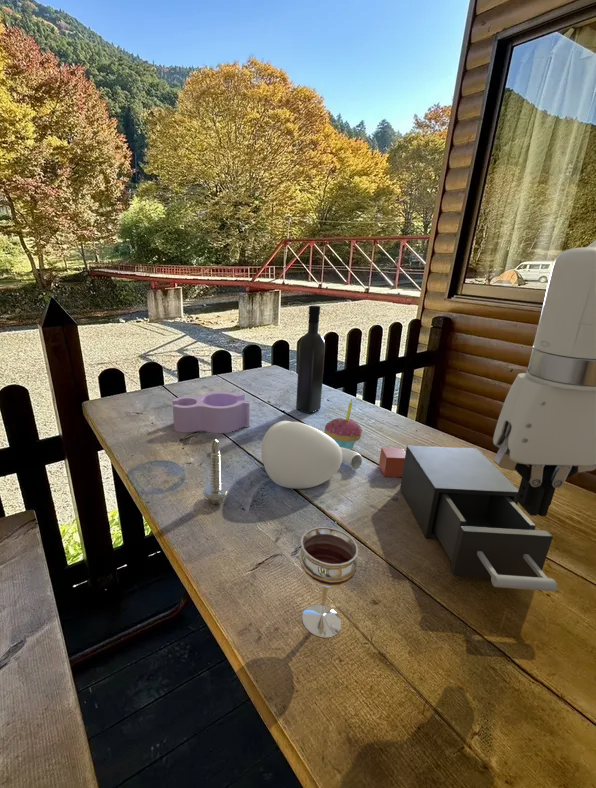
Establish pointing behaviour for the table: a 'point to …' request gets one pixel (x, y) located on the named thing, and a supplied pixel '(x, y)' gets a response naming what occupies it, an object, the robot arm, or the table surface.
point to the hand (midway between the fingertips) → (531, 508)
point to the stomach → (303, 455)
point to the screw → (215, 477)
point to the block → (392, 461)
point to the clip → (211, 412)
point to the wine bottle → (310, 365)
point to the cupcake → (344, 430)
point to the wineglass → (326, 573)
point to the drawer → (492, 541)
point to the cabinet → (447, 479)
